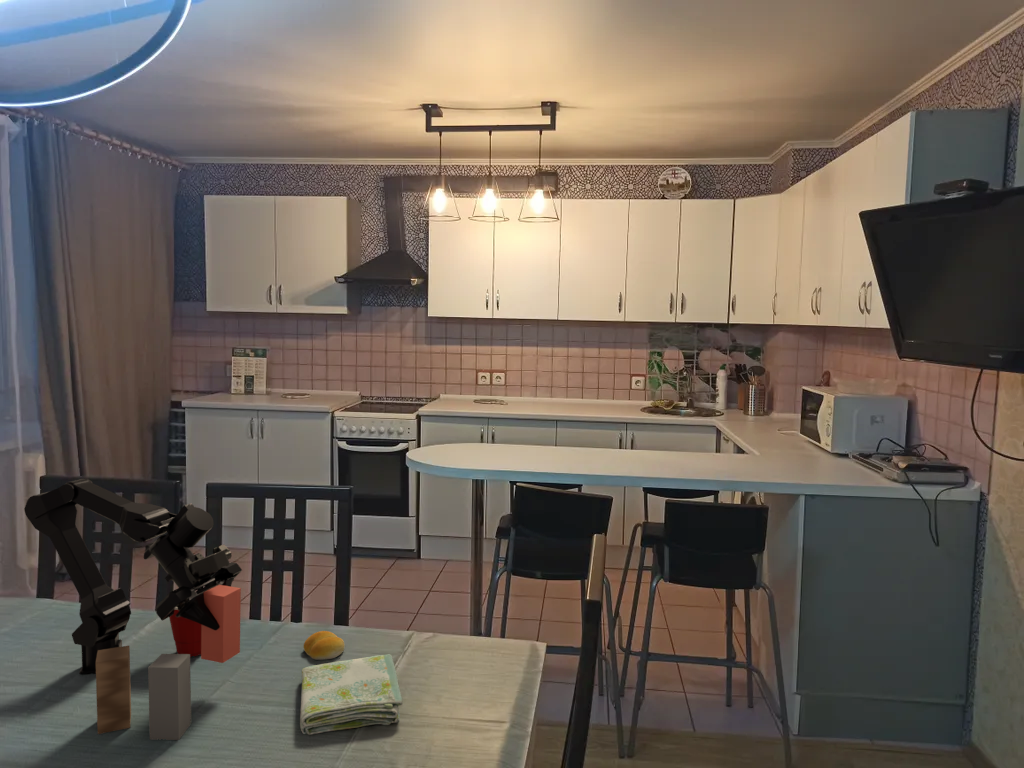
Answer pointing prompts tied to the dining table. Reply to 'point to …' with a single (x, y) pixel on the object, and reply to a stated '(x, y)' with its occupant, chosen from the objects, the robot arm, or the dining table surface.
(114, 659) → the walnut block
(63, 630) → the dining table surface
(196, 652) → the plastic cup
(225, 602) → the red block
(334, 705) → the towel
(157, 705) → the gray block
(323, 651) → the bread roll
